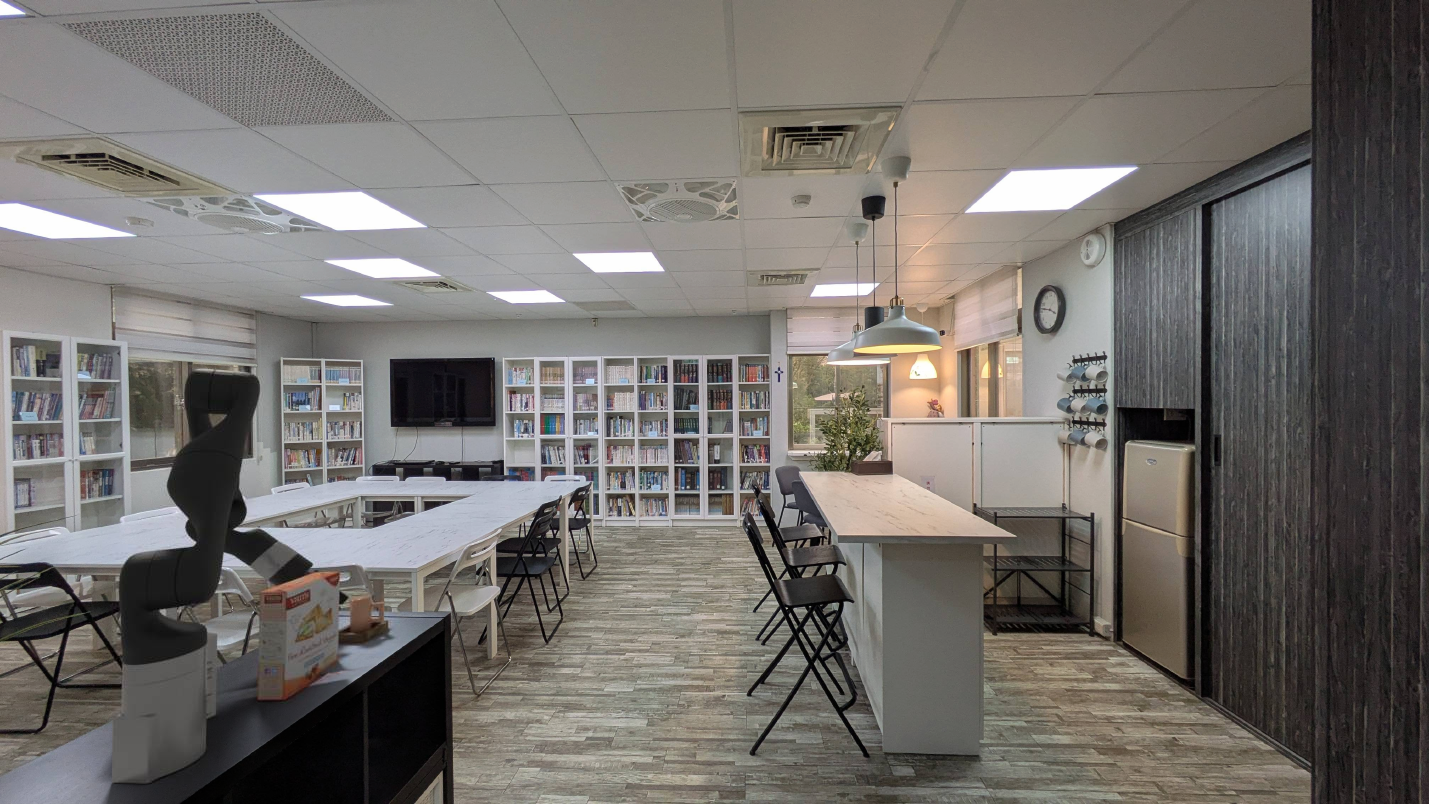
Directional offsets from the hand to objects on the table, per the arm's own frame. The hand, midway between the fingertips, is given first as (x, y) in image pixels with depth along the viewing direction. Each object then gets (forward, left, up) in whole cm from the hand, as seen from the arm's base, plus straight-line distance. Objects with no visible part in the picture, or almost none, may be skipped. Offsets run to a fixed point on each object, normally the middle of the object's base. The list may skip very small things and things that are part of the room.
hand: (341, 606), depth 125 cm
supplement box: (-33, +4, -9) cm, 35 cm away
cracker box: (-18, -7, -9) cm, 21 cm away
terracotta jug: (+2, -5, -8) cm, 9 cm away
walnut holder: (+2, -3, -9) cm, 10 cm away
